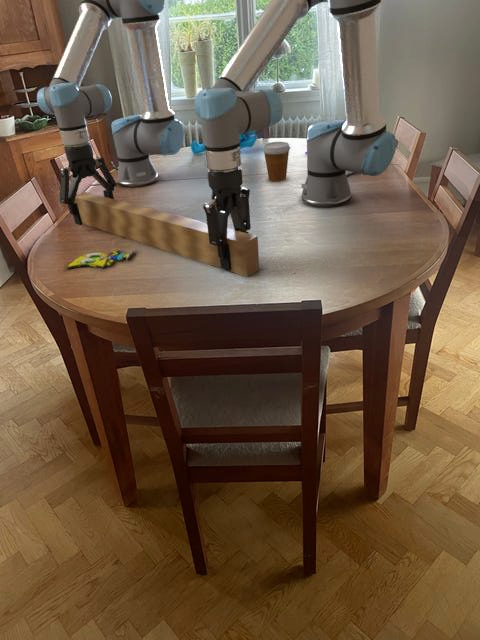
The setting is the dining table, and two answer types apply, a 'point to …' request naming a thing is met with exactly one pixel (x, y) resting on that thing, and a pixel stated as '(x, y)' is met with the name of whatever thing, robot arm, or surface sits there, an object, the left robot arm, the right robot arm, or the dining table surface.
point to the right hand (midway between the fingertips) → (233, 264)
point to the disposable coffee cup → (276, 160)
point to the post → (167, 232)
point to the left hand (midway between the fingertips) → (95, 217)
